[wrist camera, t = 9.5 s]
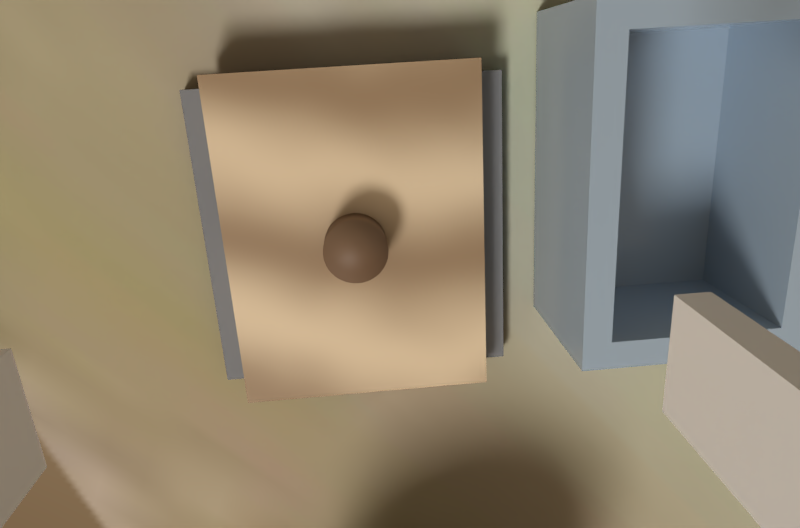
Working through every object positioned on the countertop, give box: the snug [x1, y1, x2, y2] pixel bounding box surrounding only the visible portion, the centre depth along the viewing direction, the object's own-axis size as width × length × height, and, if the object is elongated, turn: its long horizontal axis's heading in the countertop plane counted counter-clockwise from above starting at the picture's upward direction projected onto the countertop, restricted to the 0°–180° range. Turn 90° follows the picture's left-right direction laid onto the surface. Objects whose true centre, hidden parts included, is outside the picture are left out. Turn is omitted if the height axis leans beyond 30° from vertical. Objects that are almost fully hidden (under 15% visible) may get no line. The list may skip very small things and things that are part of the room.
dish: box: [534, 0, 800, 371], centre depth 22 cm, size 12×8×6 cm, turn 3°
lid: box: [197, 58, 487, 403], centre depth 23 cm, size 13×10×2 cm
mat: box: [180, 70, 503, 380], centre depth 25 cm, size 12×12×1 cm
